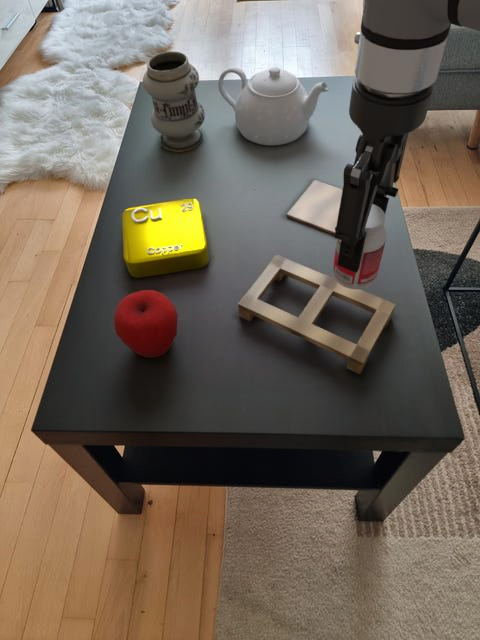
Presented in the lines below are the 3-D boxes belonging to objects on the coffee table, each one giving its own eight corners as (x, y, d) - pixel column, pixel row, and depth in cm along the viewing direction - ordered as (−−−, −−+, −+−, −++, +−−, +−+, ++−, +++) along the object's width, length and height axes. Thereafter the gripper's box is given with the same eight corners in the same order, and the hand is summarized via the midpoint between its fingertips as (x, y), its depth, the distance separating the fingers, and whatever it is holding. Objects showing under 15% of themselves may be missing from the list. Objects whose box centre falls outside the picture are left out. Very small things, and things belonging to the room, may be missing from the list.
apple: (191, 358, 77) (181, 318, 68) (133, 378, 75) (115, 340, 66) (174, 312, 82) (163, 270, 74) (120, 330, 81) (101, 289, 72)
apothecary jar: (152, 129, 115) (135, 51, 100) (202, 120, 116) (192, 41, 101) (159, 159, 108) (141, 80, 93) (211, 149, 109) (202, 69, 94)
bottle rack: (391, 317, 79) (396, 304, 77) (359, 374, 73) (363, 363, 71) (276, 267, 87) (276, 254, 84) (239, 316, 81) (237, 303, 78)
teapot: (289, 97, 119) (291, 39, 108) (325, 136, 109) (331, 76, 98) (220, 117, 116) (214, 60, 105) (251, 159, 106) (248, 100, 95)
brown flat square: (368, 200, 96) (368, 198, 96) (342, 237, 91) (342, 235, 90) (314, 181, 100) (314, 179, 100) (286, 216, 95) (286, 214, 94)
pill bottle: (376, 260, 69) (392, 200, 60) (376, 293, 66) (391, 234, 57) (333, 256, 70) (341, 196, 61) (330, 288, 67) (338, 230, 58)
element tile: (129, 280, 87) (122, 262, 83) (127, 224, 96) (120, 205, 92) (210, 267, 88) (208, 249, 84) (201, 212, 97) (198, 194, 93)
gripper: (394, 28, 51) (362, 199, 70) (311, 119, 42) (300, 287, 61) (465, 42, 48) (412, 216, 67) (393, 143, 39) (355, 311, 58)
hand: (359, 250), depth 64 cm, fingers closed on pill bottle, 6 cm apart
